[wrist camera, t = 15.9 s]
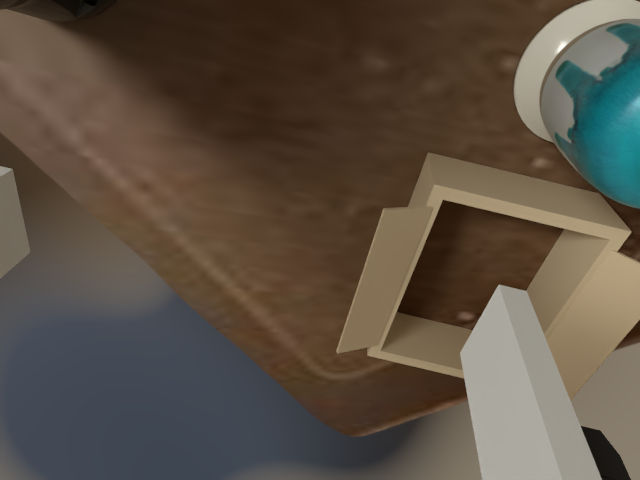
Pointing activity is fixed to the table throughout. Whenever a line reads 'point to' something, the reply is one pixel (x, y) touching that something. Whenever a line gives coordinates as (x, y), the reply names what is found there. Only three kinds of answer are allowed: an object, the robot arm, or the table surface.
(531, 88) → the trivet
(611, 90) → the vase
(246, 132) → the table surface
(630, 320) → the carton
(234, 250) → the table surface
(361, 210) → the table surface
